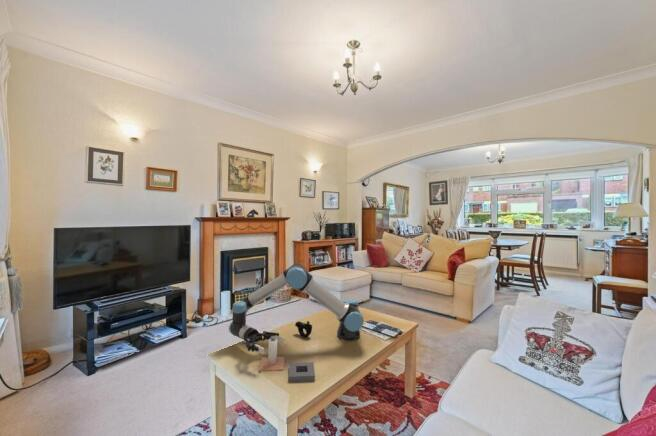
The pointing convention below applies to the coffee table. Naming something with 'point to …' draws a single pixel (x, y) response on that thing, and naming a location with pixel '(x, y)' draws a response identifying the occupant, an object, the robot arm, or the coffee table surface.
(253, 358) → the coffee table surface
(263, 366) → the tile
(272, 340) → the plug
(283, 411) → the coffee table surface
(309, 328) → the controller
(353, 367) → the coffee table surface
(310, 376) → the socket block
